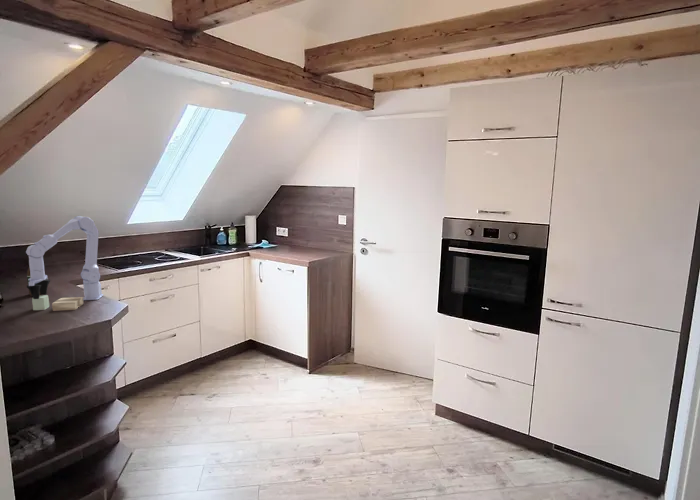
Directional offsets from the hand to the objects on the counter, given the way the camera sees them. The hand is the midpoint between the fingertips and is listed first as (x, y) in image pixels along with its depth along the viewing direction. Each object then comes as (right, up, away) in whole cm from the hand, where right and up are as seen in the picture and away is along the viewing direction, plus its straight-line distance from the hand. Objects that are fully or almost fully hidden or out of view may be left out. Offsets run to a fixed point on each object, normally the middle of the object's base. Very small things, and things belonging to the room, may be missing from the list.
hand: (40, 296), depth 213 cm
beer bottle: (-20, -2, +26) cm, 33 cm away
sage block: (0, -6, +1) cm, 6 cm away
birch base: (+12, -6, +4) cm, 14 cm away
